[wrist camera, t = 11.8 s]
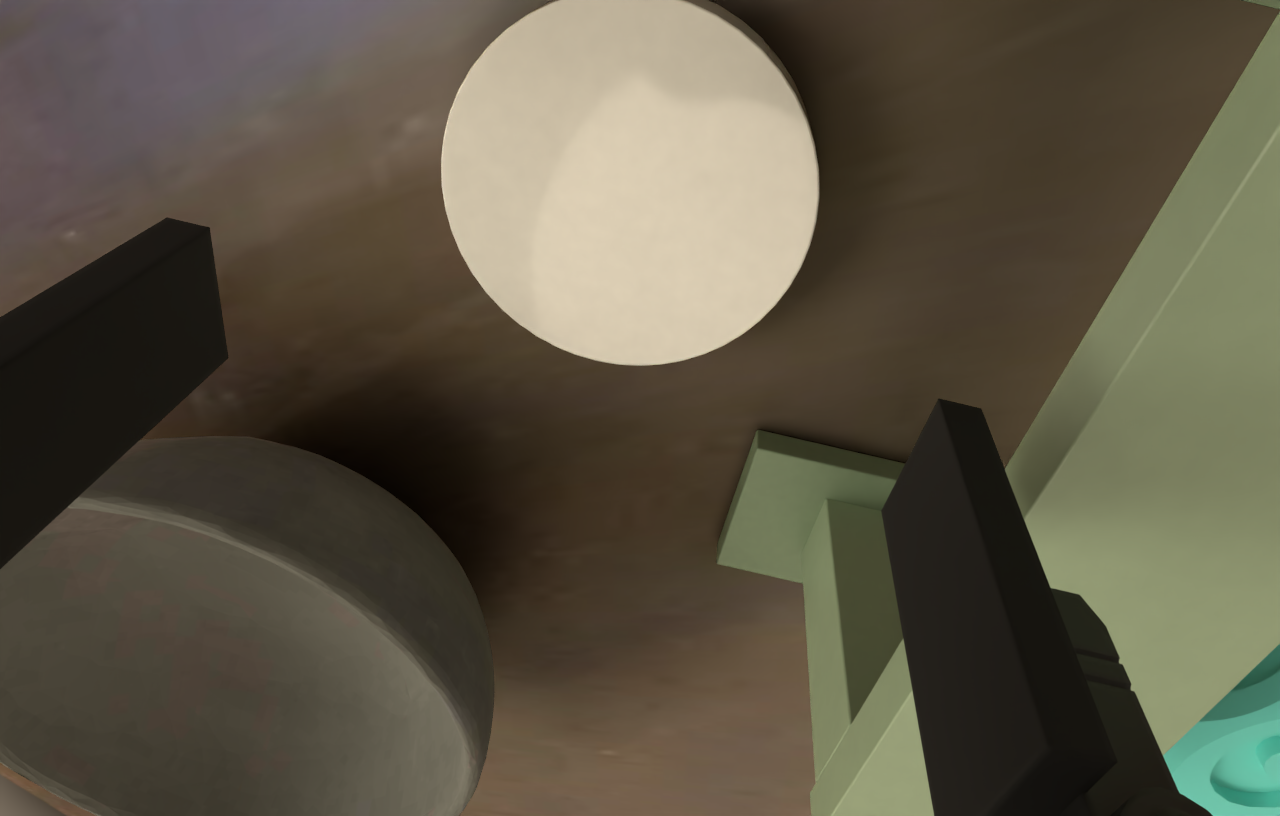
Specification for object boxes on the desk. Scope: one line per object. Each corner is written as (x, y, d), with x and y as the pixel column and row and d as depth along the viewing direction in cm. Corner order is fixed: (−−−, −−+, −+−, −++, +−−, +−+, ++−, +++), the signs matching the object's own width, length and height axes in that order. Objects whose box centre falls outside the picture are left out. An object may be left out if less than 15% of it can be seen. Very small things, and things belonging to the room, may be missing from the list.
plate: (470, -60, 21) (448, -55, 20) (869, 31, 21) (877, 42, 20) (451, 300, 27) (434, 325, 26) (759, 370, 27) (759, 398, 26)
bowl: (323, 718, 43) (220, 917, 35) (-1, 454, 35) (-238, 635, 26) (628, 616, 35) (589, 841, 27) (308, 243, 27) (109, 406, 19)
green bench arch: (1048, -408, 16) (1494, -840, 6) (1610, -274, 16) (2909, -496, 6) (716, 543, 32) (698, 837, 22) (1001, 608, 32) (1107, 931, 22)
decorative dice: (1127, 683, 34) (1216, 878, 27) (1036, 574, 31) (1110, 762, 24) (1340, 612, 30) (1500, 817, 24) (1258, 481, 27) (1414, 672, 21)
